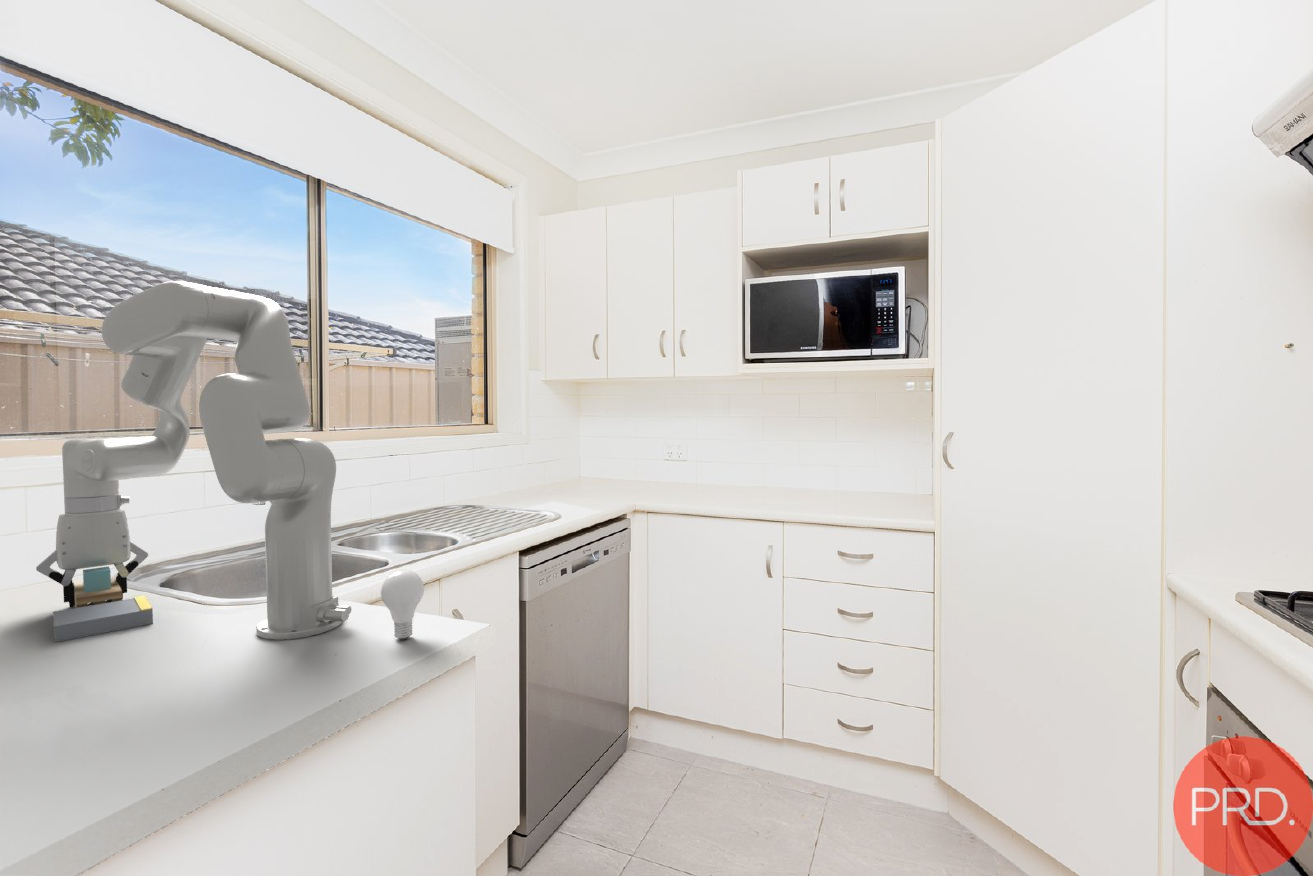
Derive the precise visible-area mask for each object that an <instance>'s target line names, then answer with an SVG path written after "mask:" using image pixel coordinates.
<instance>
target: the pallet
mask: <svg viewBox="0 0 1313 876" xmlns="http://www.w3.org/2000/svg"><path fill="white" fill-rule="evenodd" d="M74 600H75V606H74V607H73V608H79V607H85V606H89V604H90V606H91V605H97V604H103V603H109V602H115V601H121V600H123V599H122V590H121V588H120V586H119V584H118V583H117V581H116V577H114V578H111V589H107V590H101V591H94V592H88V593H85V592H84V585H83V582H79V583H74Z"/></svg>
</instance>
